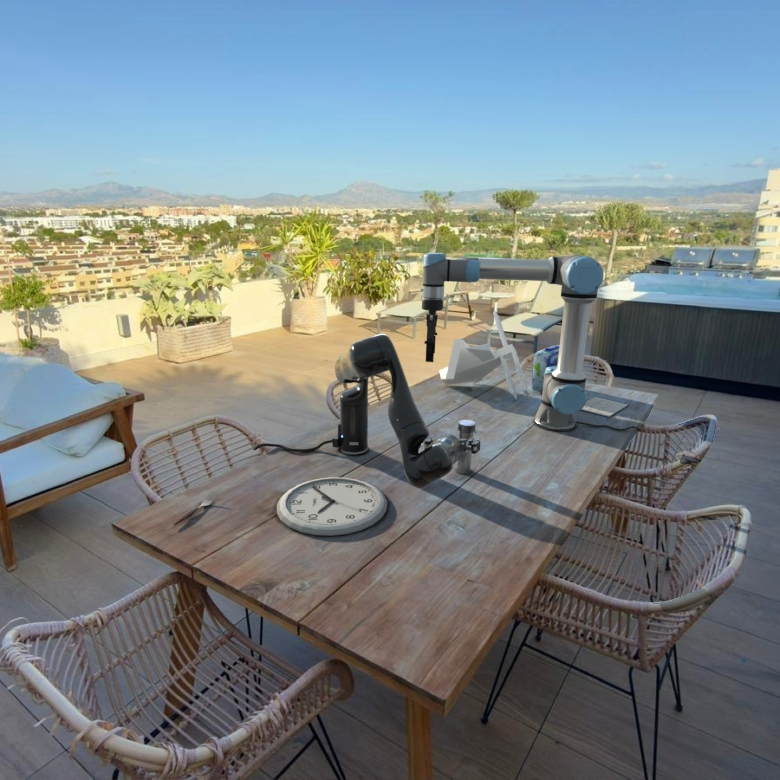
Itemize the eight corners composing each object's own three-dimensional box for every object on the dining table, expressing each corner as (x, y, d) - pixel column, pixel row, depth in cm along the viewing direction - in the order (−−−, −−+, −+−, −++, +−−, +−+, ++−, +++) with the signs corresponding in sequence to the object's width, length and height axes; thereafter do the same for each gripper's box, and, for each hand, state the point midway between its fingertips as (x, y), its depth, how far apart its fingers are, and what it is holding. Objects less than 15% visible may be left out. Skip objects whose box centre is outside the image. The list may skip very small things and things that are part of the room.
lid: (475, 433, 157) (475, 426, 157) (457, 432, 158) (458, 425, 157) (474, 427, 162) (475, 420, 162) (458, 426, 163) (458, 419, 162)
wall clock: (392, 527, 129) (268, 531, 127) (391, 533, 130) (269, 537, 127) (383, 473, 158) (282, 475, 155) (383, 478, 158) (282, 480, 156)
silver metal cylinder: (470, 474, 162) (473, 427, 157) (457, 473, 163) (460, 426, 158) (470, 468, 166) (473, 422, 161) (457, 467, 167) (460, 421, 162)
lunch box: (548, 397, 237) (553, 352, 230) (527, 392, 244) (531, 348, 238) (575, 386, 254) (580, 344, 248) (555, 382, 261) (559, 340, 255)
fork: (169, 526, 131) (168, 519, 131) (210, 497, 146) (210, 490, 145) (177, 528, 130) (176, 521, 130) (218, 498, 145) (217, 492, 144)
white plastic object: (461, 429, 252) (437, 405, 227) (444, 352, 274) (420, 323, 250) (535, 404, 240) (518, 377, 215) (510, 326, 262) (492, 293, 237)
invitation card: (608, 416, 214) (573, 407, 224) (608, 416, 214) (573, 408, 224) (628, 404, 229) (594, 396, 238) (628, 405, 229) (594, 397, 238)
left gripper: (473, 438, 127) (483, 428, 142) (416, 435, 131) (432, 426, 147) (473, 468, 128) (482, 455, 143) (416, 464, 132) (432, 452, 147)
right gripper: (424, 293, 195) (422, 349, 202) (419, 302, 172) (417, 365, 178) (444, 294, 195) (441, 350, 201) (442, 303, 171) (439, 366, 177)
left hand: (457, 440), depth 145 cm, fingers open, 8 cm apart
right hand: (430, 357), depth 190 cm, fingers open, 13 cm apart
